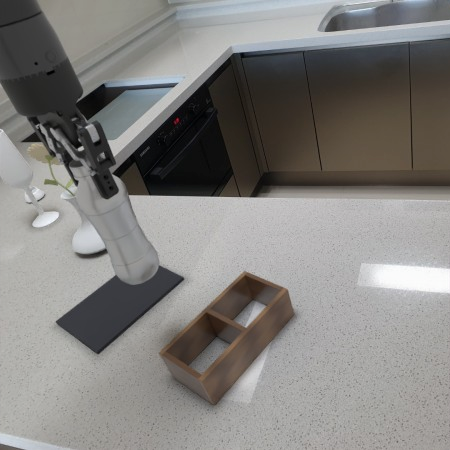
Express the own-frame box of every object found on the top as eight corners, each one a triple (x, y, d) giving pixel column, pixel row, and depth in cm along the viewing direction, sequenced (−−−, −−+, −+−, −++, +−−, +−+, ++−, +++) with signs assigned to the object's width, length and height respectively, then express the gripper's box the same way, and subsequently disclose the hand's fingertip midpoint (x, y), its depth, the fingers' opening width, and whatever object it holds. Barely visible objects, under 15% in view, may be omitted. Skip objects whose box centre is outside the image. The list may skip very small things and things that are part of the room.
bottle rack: (214, 405, 66) (201, 381, 62) (171, 376, 71) (158, 352, 68) (294, 314, 77) (287, 289, 74) (252, 294, 83) (244, 270, 79)
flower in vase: (136, 230, 106) (87, 132, 91) (99, 263, 98) (39, 161, 83) (97, 222, 112) (45, 128, 97) (60, 252, 104) (-2, 155, 89)
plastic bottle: (112, 287, 69) (44, 174, 57) (138, 257, 73) (81, 146, 61) (147, 293, 66) (84, 175, 54) (172, 261, 71) (119, 147, 59)
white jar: (45, 191, 130) (26, 197, 128) (39, 182, 128) (21, 188, 127) (45, 199, 126) (26, 205, 125) (39, 190, 124) (20, 196, 123)
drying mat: (97, 354, 78) (96, 352, 77) (56, 323, 85) (55, 321, 85) (184, 279, 89) (183, 276, 89) (141, 258, 97) (140, 255, 97)
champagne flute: (58, 221, 115) (5, 134, 101) (31, 230, 114) (-27, 144, 99) (59, 208, 120) (9, 124, 106) (33, 217, 119) (-22, 133, 105)
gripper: (-28, 71, 52) (46, 193, 62) (28, 82, 44) (103, 220, 54) (33, 48, 57) (93, 165, 67) (95, 54, 48) (153, 187, 59)
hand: (97, 189), depth 60 cm, fingers closed on plastic bottle, 6 cm apart
